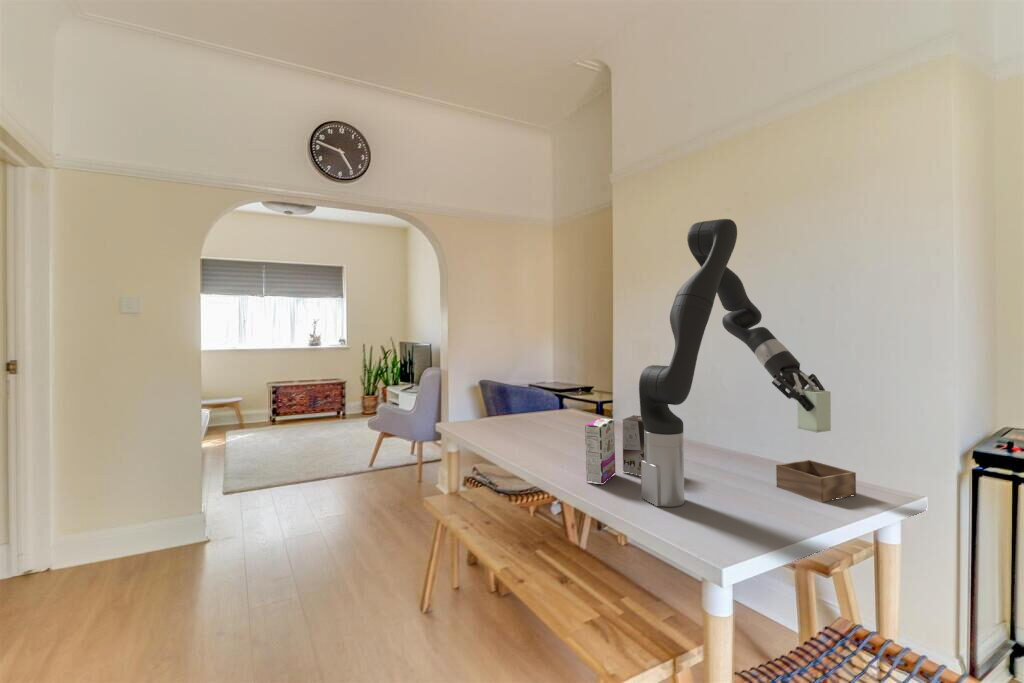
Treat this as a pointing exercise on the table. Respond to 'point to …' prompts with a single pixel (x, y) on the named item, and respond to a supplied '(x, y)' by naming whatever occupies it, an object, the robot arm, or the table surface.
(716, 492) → the table surface
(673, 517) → the table surface
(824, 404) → the green square vase
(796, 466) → the walnut crate
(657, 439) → the robot arm
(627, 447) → the coffee box
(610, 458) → the candy bar box
